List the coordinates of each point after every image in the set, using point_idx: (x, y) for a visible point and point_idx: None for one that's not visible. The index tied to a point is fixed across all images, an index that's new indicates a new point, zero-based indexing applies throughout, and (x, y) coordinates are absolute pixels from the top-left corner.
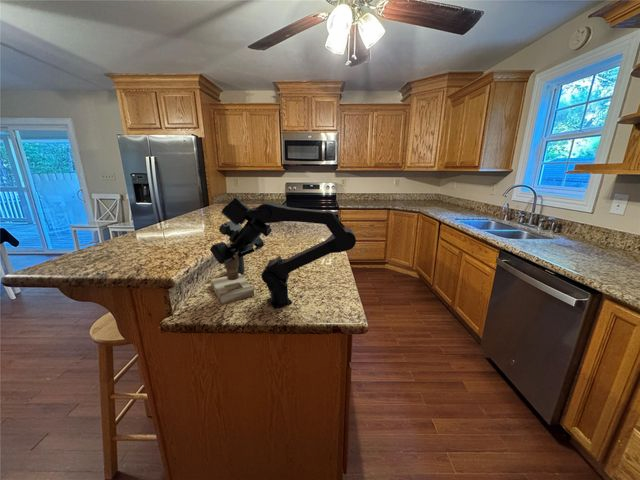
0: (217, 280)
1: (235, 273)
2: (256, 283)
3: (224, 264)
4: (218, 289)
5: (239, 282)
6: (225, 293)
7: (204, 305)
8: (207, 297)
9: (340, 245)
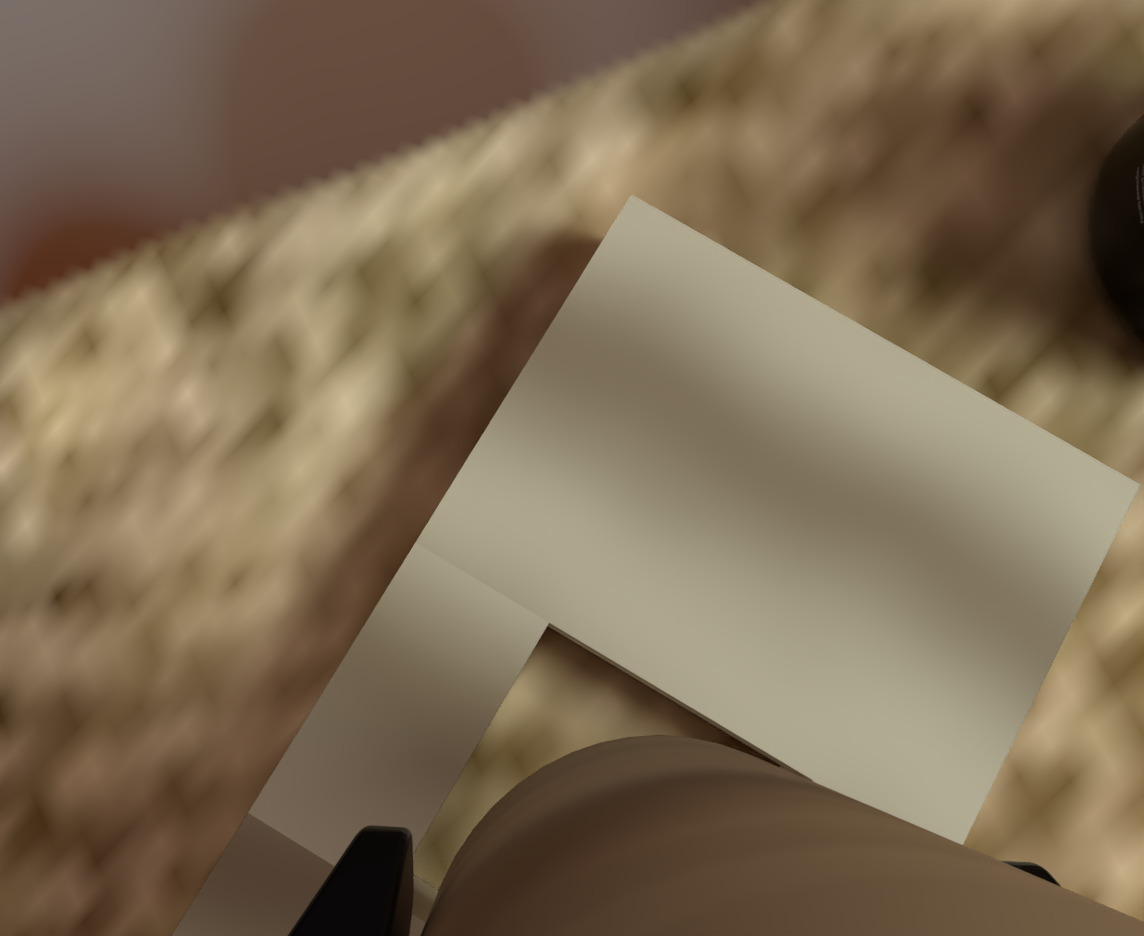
0: (664, 333)
1: None
2: None
3: (443, 885)
4: (379, 655)
5: None
6: None
7: (53, 683)
8: (275, 513)
9: None
